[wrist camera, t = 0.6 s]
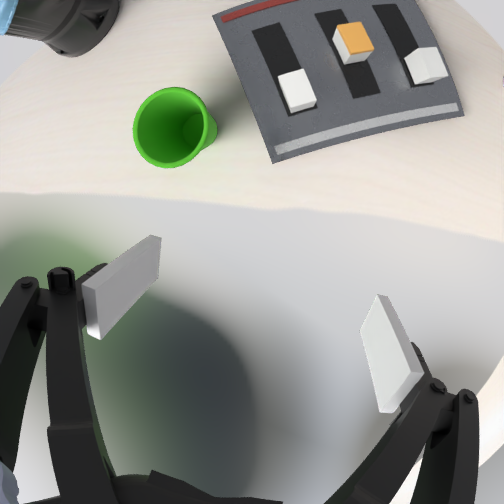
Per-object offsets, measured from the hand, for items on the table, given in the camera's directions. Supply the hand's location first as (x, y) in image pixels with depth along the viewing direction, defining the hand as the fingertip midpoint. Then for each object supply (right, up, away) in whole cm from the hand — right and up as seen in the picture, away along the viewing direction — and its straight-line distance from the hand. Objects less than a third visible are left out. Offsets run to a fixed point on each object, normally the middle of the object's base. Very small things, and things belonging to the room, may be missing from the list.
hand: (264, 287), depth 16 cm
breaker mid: (+12, +28, +11) cm, 32 cm away
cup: (-8, +19, +21) cm, 29 cm away
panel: (+12, +29, +14) cm, 34 cm away
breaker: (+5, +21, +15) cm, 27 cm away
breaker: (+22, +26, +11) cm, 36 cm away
